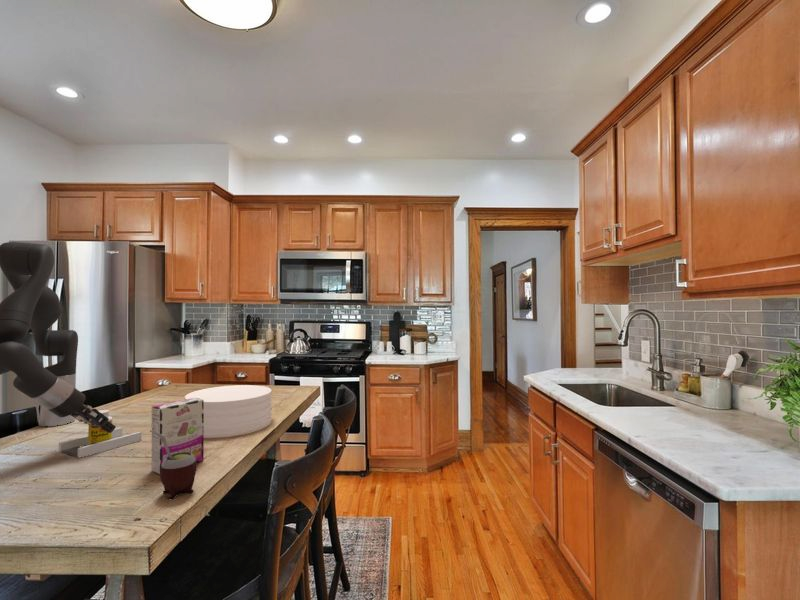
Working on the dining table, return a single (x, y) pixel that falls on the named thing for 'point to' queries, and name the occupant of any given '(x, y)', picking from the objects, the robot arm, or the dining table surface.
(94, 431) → the supplement bottle
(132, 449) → the dining table surface
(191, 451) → the candy bar box
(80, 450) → the trap channel
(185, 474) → the mate gourd
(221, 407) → the plate stack
